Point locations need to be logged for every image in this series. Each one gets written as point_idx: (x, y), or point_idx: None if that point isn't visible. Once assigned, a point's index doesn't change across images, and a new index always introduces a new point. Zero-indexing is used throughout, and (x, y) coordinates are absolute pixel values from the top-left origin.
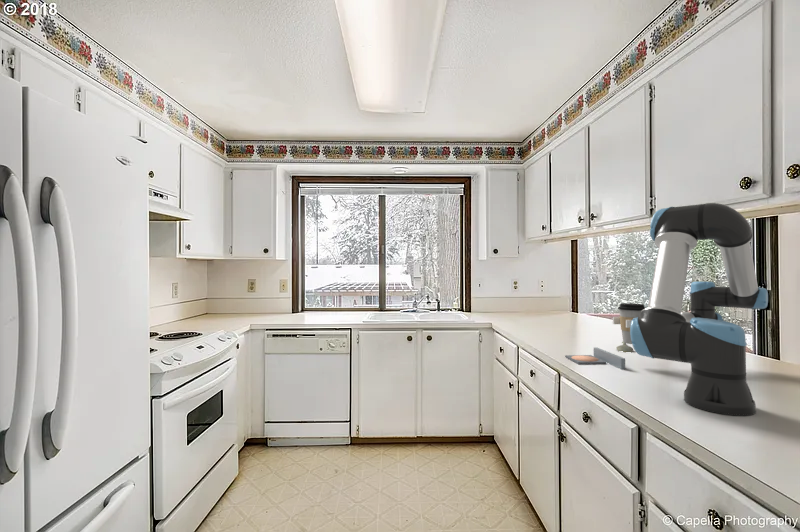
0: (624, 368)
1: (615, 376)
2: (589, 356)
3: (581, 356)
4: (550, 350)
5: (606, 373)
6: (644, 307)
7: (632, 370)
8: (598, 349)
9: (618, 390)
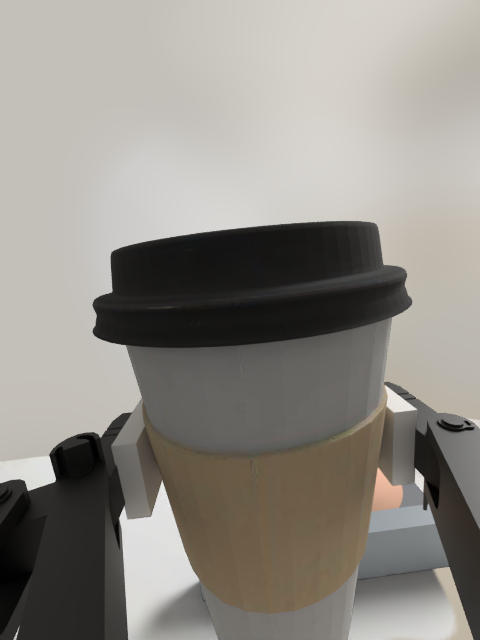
0: (202, 592)
1: (124, 508)
2: (396, 501)
3: (377, 473)
4: (477, 425)
5: (163, 494)
6: (170, 296)
7: (176, 637)
8: (409, 506)
9: (30, 470)
